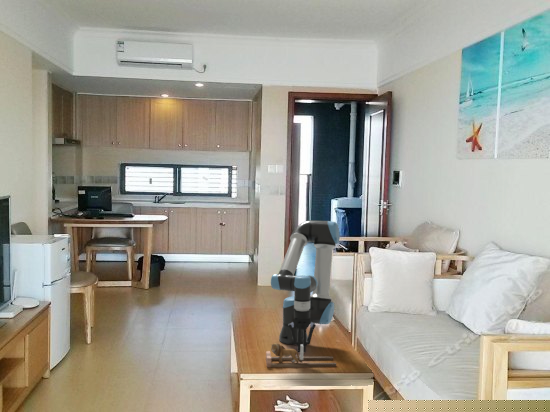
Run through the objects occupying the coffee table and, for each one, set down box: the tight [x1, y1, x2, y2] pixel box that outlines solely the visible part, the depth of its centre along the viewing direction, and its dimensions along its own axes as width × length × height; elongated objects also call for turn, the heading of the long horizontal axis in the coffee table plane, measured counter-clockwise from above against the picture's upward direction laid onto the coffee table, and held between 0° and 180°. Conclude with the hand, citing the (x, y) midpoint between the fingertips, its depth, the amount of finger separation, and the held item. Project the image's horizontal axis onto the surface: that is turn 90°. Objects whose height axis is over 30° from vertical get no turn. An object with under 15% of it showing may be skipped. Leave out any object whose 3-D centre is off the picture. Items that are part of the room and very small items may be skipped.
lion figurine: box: [270, 342, 303, 363], centre depth 249 cm, size 15×5×9 cm, turn 84°
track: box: [265, 350, 337, 368], centre depth 249 cm, size 10×32×4 cm, turn 94°
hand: (301, 358), depth 249 cm, fingers closed
